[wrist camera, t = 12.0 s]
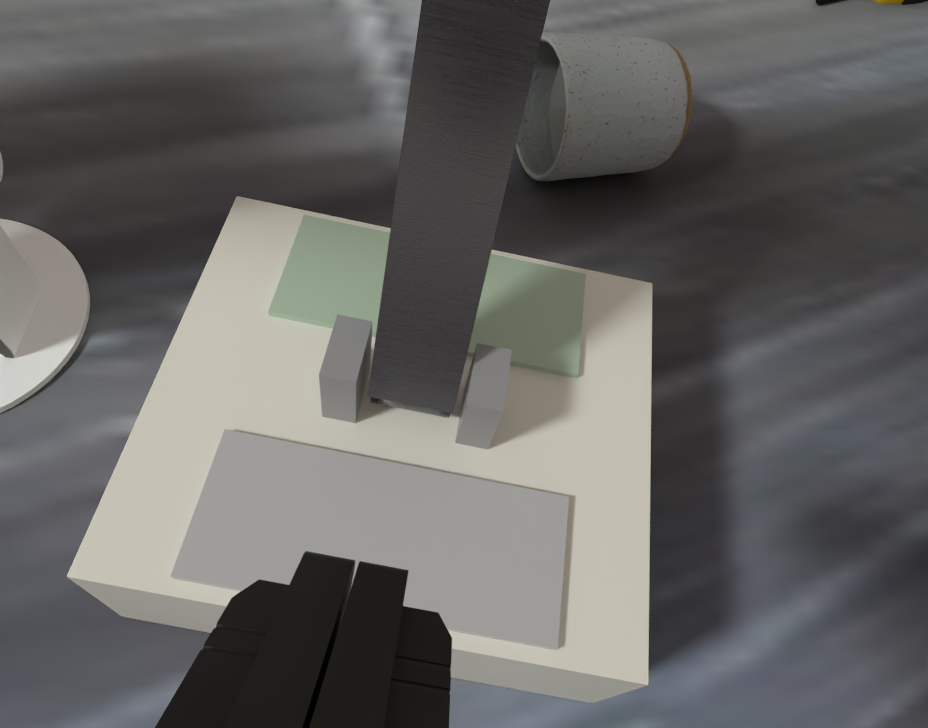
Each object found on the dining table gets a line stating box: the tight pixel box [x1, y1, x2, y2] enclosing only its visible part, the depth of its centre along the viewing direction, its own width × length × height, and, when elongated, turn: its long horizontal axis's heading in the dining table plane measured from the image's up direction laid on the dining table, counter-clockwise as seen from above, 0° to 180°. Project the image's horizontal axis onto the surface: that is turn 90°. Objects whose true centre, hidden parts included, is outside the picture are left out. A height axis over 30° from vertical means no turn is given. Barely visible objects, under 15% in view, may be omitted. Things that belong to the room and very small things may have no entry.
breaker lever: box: [368, 0, 550, 418], centre depth 20 cm, size 2×4×17 cm, turn 82°
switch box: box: [67, 196, 652, 703], centre depth 27 cm, size 16×18×9 cm
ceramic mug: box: [516, 33, 692, 181], centre depth 40 cm, size 11×8×8 cm
